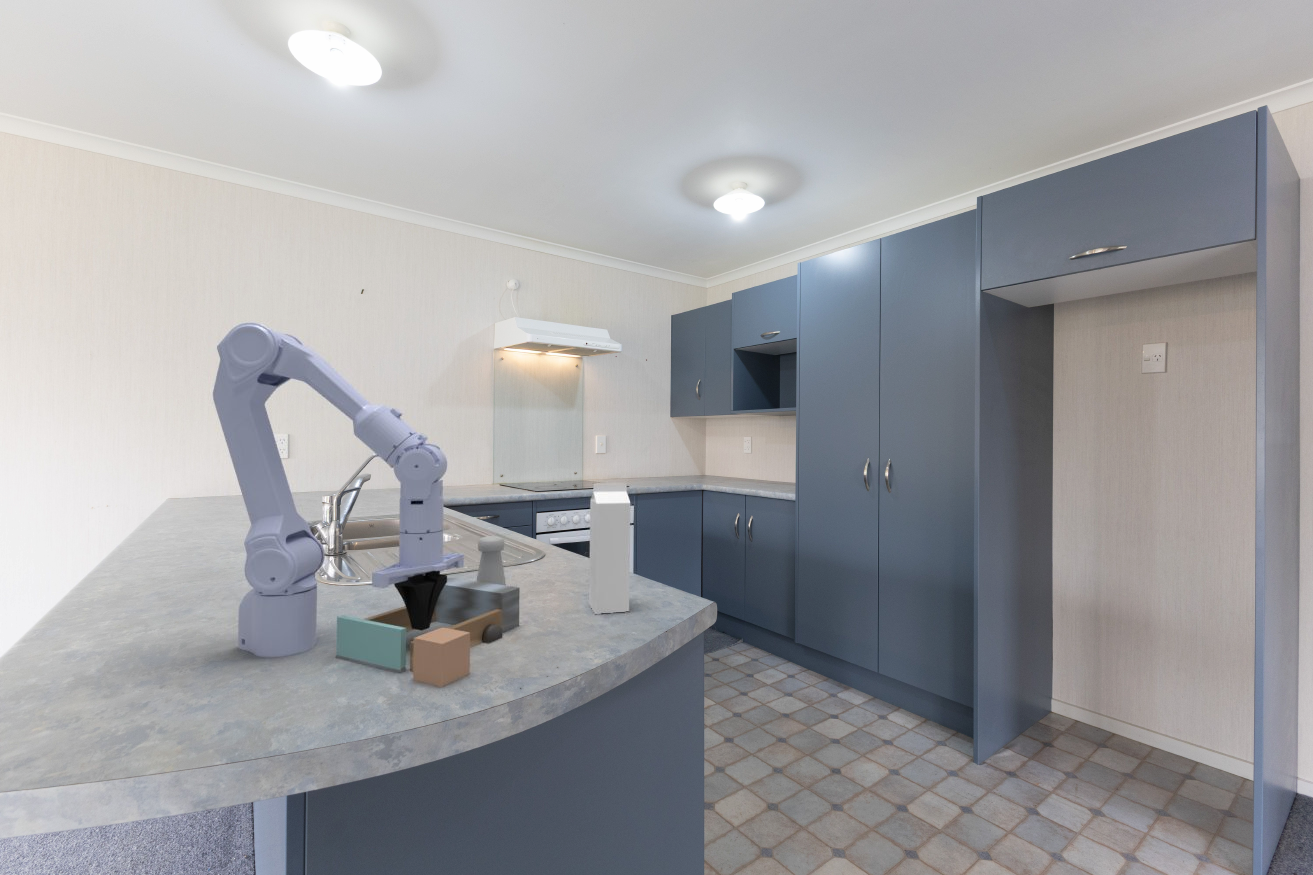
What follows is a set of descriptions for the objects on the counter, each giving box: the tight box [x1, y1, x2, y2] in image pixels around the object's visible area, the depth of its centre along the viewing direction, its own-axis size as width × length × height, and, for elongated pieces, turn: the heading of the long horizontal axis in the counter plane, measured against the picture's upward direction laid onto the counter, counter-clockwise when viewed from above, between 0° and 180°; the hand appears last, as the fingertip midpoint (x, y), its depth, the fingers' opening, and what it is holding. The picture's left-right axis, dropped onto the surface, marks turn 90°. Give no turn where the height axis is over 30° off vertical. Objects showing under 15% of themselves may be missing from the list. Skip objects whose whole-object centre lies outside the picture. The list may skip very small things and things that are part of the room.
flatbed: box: [363, 577, 521, 672], centre depth 85 cm, size 16×20×7 cm
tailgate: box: [335, 615, 407, 674], centre depth 75 cm, size 11×1×6 cm, turn 65°
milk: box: [588, 482, 631, 615], centre depth 104 cm, size 6×6×22 cm
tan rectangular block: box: [412, 626, 471, 688], centre depth 71 cm, size 4×4×6 cm
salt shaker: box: [475, 535, 507, 586], centre depth 100 cm, size 6×6×13 cm
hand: (420, 628), depth 83 cm, fingers closed
